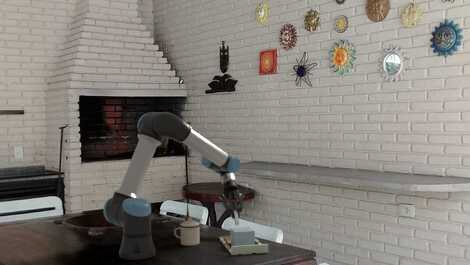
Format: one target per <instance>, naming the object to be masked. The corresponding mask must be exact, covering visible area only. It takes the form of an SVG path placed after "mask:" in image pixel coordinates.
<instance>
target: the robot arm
mask: <svg viewBox="0 0 470 265" xmlns="http://www.w3.org/2000/svg"><path fill="white" fill-rule="evenodd" d="M137 131H138V133H137V138H138V142H137V144H136V147H135V149H134V152H133V155H132V157H131V159H130V162H129V164H128V166H127V169H126V172H125V174H124V178H123V179H122V182H121V184H120V187H119V189H116V190H115V191H114V193H113V195H112V197H110V198H109V199H107V201H105V203H104V205H103V216H104V218H105V220H106V221H107V222H108V223H110V224H112V225H115V226H119V227H120V228H121V227H122V241H121V244H120V248H119V251H118V257H119V258H121V259H124V260H129V261H130V260H131V261H133V260H134V261H137V260H144V259H150V258H153V257H154V256H156V246H155V243H154V241H153V238H152V206H151V202H150V201H149V200H148V199H146V198H141V197H140V198H139V193H140V190H141V187H142V186H143V182H144V181H145V178H146V176H147V172H148V169H149V168H150V165H151V162H152V160H153V157H154V154H155V153H156V150H157V147H159V146H161V145H162V143H163V141H164V139H165V138H166V139H170V140H173V141H175V142H176V143H178V144H181V143H183V145H185V146H187V147H188V148H190V149H192V150H193V151H195V152H196V153H198V154H199V155H201V156H202V157H201V160H200V162H201V165H202V167H204V168H206V169H208V170H211V171H212V172H215V173H216V174H218V175H219V176H220V182H221V187H222V193H221V194H219V197H218V199H219V200H220V201H221V203H222V204H223V207H224V209H225V211H226V212H227V214H229V213H230V215H231V219H232V220H234V225H235V226H239V225H240V217H241V216H240V215H241V214H240V213H242V212H243V206H244V203H243V202H244V197H245V193H241V192H240V191H239V187H238V184H237V179H236V174H235V173H237V172H238V171H239V172H240V169H241V167H242V161H241V159H240V158H239V157H237V156H231V155H230V154H228V153H227V152H226V151H224V150H222V149H221V148H219V146H217V145H216V144H214V143H212V142H211V141H210V140H209V139H207V138H206V137H204V136H203V135H201V134H200V133H198V132H197V131H196V130H194V129H193V128H192V126H191V124H190V123H188V122H186V121H185V120H183V119H182V118H181V117H179V116H178V115H176V114H174V113H172V112H168V111H162V112H156V111H151V112H146V113H144V114H143V115H141V116H140V118H139V120H138V121H137ZM238 198H239V202H238ZM226 199H227V200H226ZM227 201H228V202H227ZM238 203H239V204H238Z"/></svg>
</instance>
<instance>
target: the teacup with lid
mask: <svg viewBox="0 0 470 265" xmlns="http://www.w3.org/2000/svg"><path fill="white" fill-rule="evenodd" d="M177 227H178V226H177ZM200 227H201V224H200V223H199V222H197V221H195V220H193V218H191V217H190V218H188V220H187V221H185V222H181V223H180V224H179V227H178V228H176V227H175V228H174V231H173V232H174V234H173V235H174V236H175V237H176V238H177V239H180V244H181V245H183V246H187V247H188V246H189V247H190V246H198V245H199V244H200ZM177 230H180V235H178V234H177Z"/></svg>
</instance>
